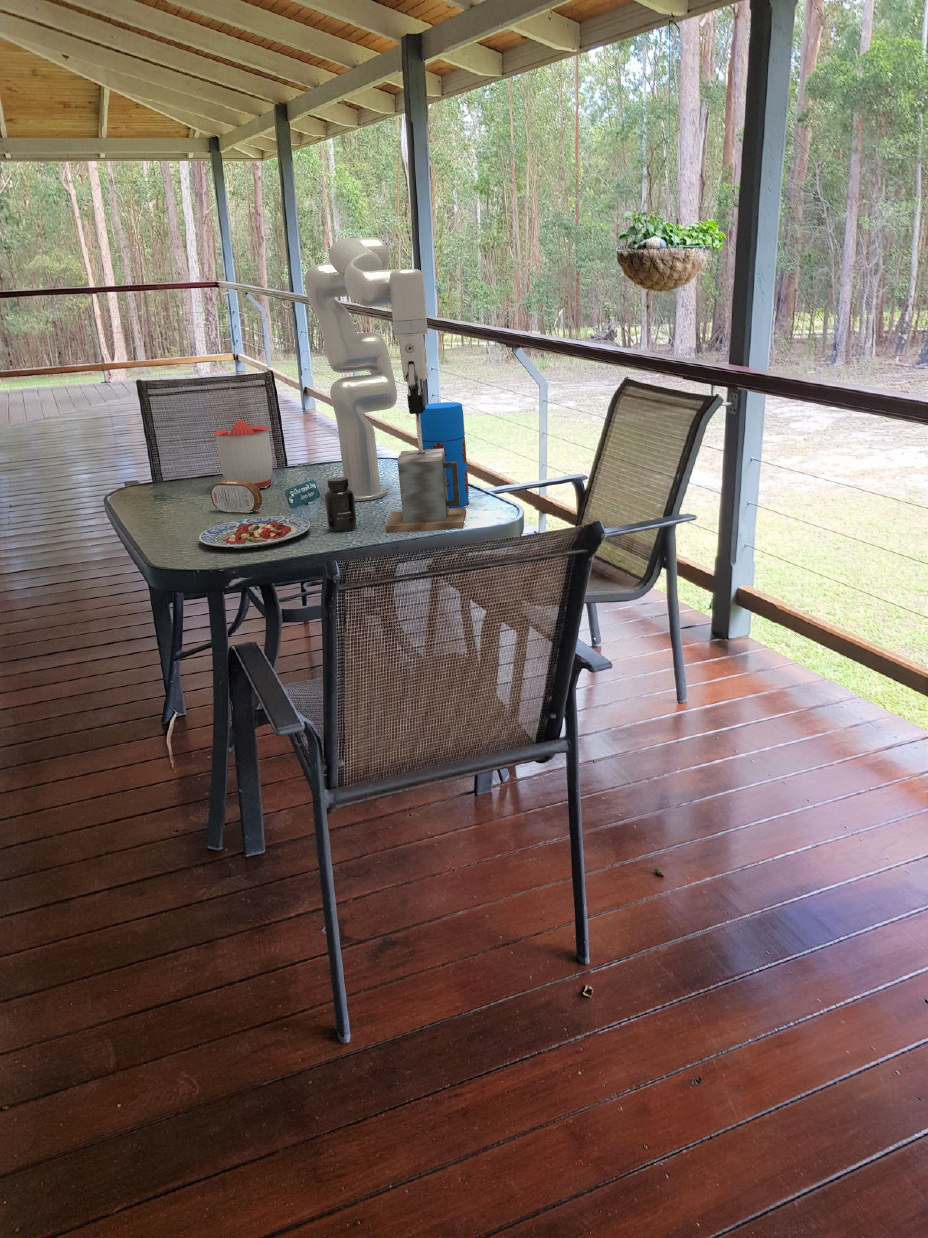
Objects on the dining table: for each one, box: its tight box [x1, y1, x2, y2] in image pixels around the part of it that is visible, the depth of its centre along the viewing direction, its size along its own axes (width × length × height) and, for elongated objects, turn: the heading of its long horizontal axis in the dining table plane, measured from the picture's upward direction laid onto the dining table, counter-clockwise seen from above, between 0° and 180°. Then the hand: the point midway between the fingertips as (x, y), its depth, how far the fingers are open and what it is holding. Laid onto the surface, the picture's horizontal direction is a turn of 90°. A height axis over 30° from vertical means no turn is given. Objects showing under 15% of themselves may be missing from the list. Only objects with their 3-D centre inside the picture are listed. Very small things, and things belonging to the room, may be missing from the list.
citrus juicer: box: [213, 419, 274, 488], centre depth 280 cm, size 16×17×20 cm
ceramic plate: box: [198, 515, 311, 548], centre depth 226 cm, size 26×26×3 cm
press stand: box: [384, 448, 467, 534], centre depth 226 cm, size 18×14×16 cm
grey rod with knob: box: [406, 391, 427, 455], centre depth 222 cm, size 4×4×20 cm
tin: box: [209, 479, 263, 512], centre depth 252 cm, size 15×3×8 cm, turn 65°
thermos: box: [420, 401, 470, 509], centre depth 240 cm, size 11×11×25 cm
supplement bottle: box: [324, 476, 358, 533], centre depth 227 cm, size 7×7×12 cm
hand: (417, 411), depth 220 cm, fingers closed on grey rod with knob, 4 cm apart
